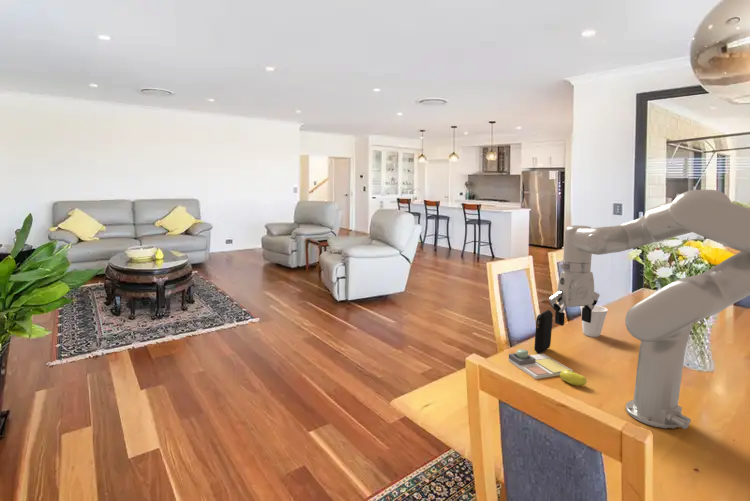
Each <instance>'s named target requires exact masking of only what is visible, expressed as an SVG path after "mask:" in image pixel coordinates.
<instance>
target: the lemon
mask: <svg viewBox="0 0 750 501" xmlns="http://www.w3.org/2000/svg"><path fill="white" fill-rule="evenodd" d="M559 377H560V378H561V379H562V380H563V381H564V382H566V383H568V384H570V385H572V386H585V385H586V384H587V383H588V382H587V379H586V377H585V376H584V375H582V374H579V373H577V372H575V371H574V370H573V371H569V370H564V371H562V372H561V373H560V375H559Z"/></svg>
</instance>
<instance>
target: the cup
mask: <svg viewBox="0 0 750 501" xmlns="http://www.w3.org/2000/svg"><path fill="white" fill-rule="evenodd" d="M579 307H580V315H581V317H582V308H583V307H584V306H579ZM608 311H609V309H608V308H606V307H605V306H601V305H597V304H596V305H595V306H594V309H593V310H592V313H591V323H588V322H585V321H583V320H582V319H581V325H582V326H581V327H582V334H583V335H585V336H587V337H591V338H598V337H600V336H601V333H602V330H603V326H604V323H605V320H606V316H607V313H608Z"/></svg>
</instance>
